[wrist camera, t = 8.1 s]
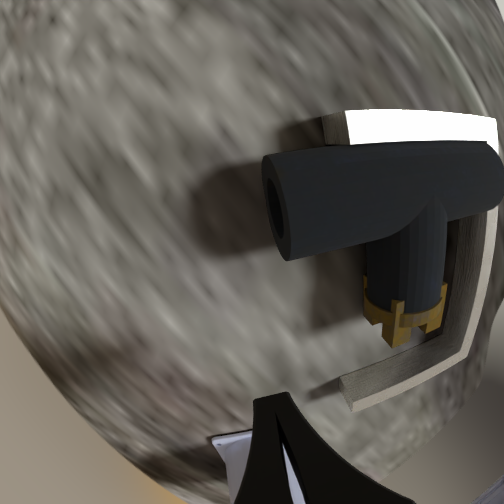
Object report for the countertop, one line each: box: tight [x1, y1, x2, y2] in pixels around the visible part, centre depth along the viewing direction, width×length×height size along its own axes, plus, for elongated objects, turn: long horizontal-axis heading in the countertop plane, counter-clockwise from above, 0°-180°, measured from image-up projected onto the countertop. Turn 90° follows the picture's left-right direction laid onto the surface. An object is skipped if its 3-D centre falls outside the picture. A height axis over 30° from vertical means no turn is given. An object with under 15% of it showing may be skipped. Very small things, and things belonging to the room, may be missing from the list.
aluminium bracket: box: [321, 110, 498, 413], centre depth 17 cm, size 21×13×3 cm, turn 10°
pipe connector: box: [262, 140, 504, 348], centre depth 15 cm, size 12×5×15 cm
